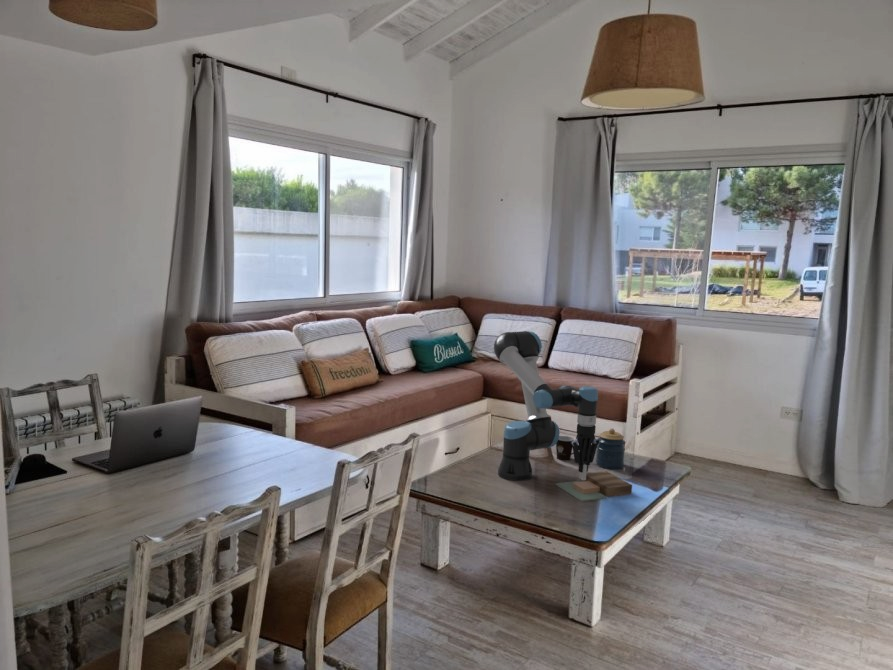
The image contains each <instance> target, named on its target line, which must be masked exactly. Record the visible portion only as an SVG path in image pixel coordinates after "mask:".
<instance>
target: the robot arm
mask: <svg viewBox="0 0 893 670" xmlns="http://www.w3.org/2000/svg"><path fill="white" fill-rule="evenodd" d="M542 347H543V346H542V341H541V339H540V336H539V335H538V334H537V333H535V332H533V331H527V330H522V331H506V332H502V333H500V335H498V336H497V337H496V338H495V340H494V343H493V351H494V354H495V356H496V359H498V360H499V362H500V363H501V364H504V365H506V367H508V369H510V371H511V372H512V373H513V374H514V375H515V376H516V378H517V379H518V380H519V381H520V382H521V387H522V388H521V389H522V393H523V398H524V403H525V408H526V413H527V414H526V415H527V418H525V420H513V421H510V422H508V423H506V424H505V426H504V430H503V444H502V445H503V447H502V458H501V461H500V463H499V465H498V468H497V469H498V470H497V475H498V476H499V477H500V478H503V479H506V480H510V481H527V480H530V479H532V477H533V468H532V465H531V460H530V454H531V453H530V452H531V451H536V450H542V449H548V448H551V447H554V446H556V443H557V441H558V439H559V436H560V435H561V434H560V427H559V425H558V424H557V422H555V421H554V420H552V416H551V415H550V414H548V413H547V412H548V411H547V409H551V408H558V407H560V408H561V407H567V406H572V407H574V408H577V409H578V410H577V421H576V422H577V424H576V436H575V439H574V441H571V444H572V446H573V447H572V453H574V454H573V458H574V462H575V463H576V464H578V472H579V476H578V477H579V479H580V481H582V482H583V481H584V480H586V473H589V472H588V471H589V466H590V465H591V464H592V463H593V462H594V459H595V457H596V453H597V445H598V444H599V442H600V441H599V440H597V439H598V438H596V435H595V434H596V429H597V428H596V424H597V413H598V412H597V410H598V400H599V390H598V389H597V387H594V386H589V385H584V386H583V385H582V386H581V387H579V388H577V387H573V386H570V385H561V386H560V387H559V388H552V387H551V386H550V385H549V384H548V383H547V382H546V380H544V379H543V378H542V377H541V376H540V373H539V370H538V364H537V361H538V360H539V358H540V356H539V355H540V354H541V351H542ZM578 445H579V449H578Z"/></svg>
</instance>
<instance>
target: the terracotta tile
mask: <svg viewBox="0 0 893 670" xmlns="http://www.w3.org/2000/svg"><path fill="white" fill-rule="evenodd" d="M573 488H575V489H576V490H578V491H579V492H581V493H583V494H586V493H594V492H600V487H599V486H597V485H595V484H593V483H592V482H590V481H583V480H582V481H581V482H574V483H573Z"/></svg>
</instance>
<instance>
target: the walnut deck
mask: <svg viewBox="0 0 893 670" xmlns="http://www.w3.org/2000/svg"><path fill="white" fill-rule="evenodd" d="M584 481H590V482H592V483H593V484H595V485H597V486H599V487H600V492H599V493H601V494H603V495H604V496H606V497H607V498H612V497H621V496H628V495H632V493H633V492H632V491H633V484H631V483H630V482H629V481H625V480H624V479H622V478H620V477H618V476H616V475H614V474H612V473H611V472H609V471H606V470H604V471H603V470H602V471H596V472H586V480H584Z"/></svg>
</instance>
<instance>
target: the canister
mask: <svg viewBox="0 0 893 670" xmlns="http://www.w3.org/2000/svg"><path fill="white" fill-rule="evenodd" d="M598 436H599V437H598V438H596V439H597V440H599V441H600V442H599V444H598V445H597V449H596V452H595V457H596V458H595V465H596V466H598V467H600V468H603V469H607V470H620V469H621V468H623V467H624V463H625V461H624V460H625V451H626V448H625V444H626V440H624V438H625V436H624V435H623V434H621V433H620V432H617V431H615V429H614V428H610V429H608V430H605V431H603V432H601V433H599V434H598Z"/></svg>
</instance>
